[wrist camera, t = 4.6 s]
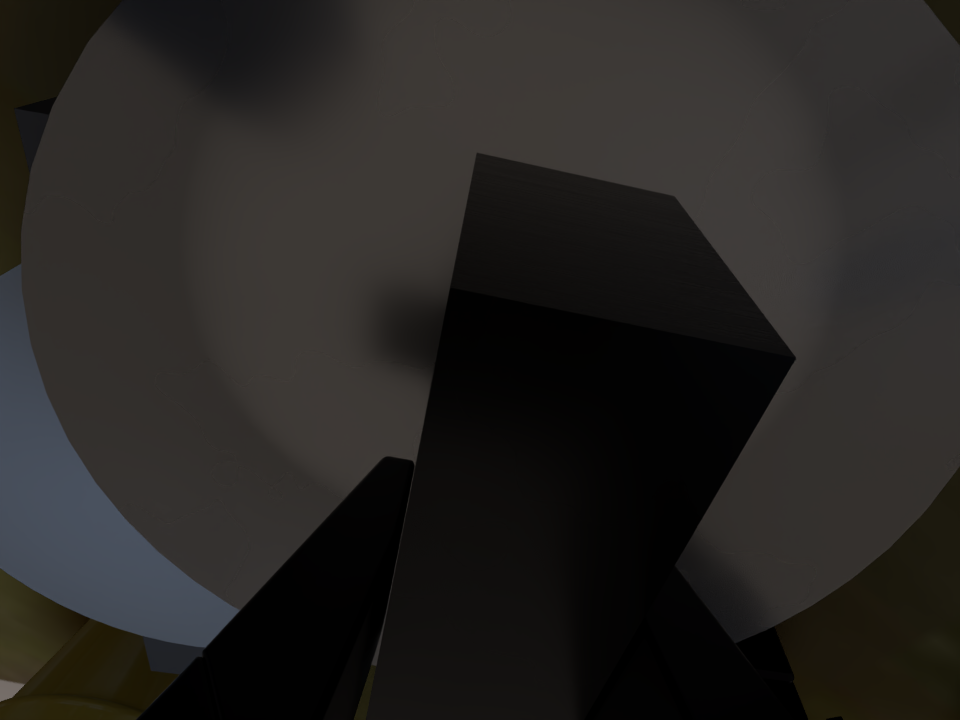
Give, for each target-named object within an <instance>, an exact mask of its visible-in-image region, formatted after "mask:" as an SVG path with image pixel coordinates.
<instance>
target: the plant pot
mask: <svg viewBox="0 0 960 720" xmlns="http://www.w3.org/2000/svg"><path fill="white" fill-rule="evenodd" d="M179 675H180V674H173V673H165V672H157V671H151V669H150V665H149V661H148V657H147V653H146V648H145V644H144V640H143V636H141V635H138V634H134V633H131V632H128V631H125V630H121V629H118V628H115V627H112V626H109V625H107V624H104V623H102V622H99V621H96V620H94V619H91V618H90V619H89V621H88V622H87V623H86V624H85V625H84V626H83V627H82V628H81V629H80V630H79V631H78V632H77V633H76V634H75V635H74V636H73V637H72V638H71V639H70V640H69V641H68V642H67V643H66V644H65V645H64V646H63V647H62V648H61V649H60V650H59V651H58V652H57V653H56V654H55V655H54V656H53V657H52V658H51V659H50V660H49V661H48V662H47V663H46V664H45V665H44V666H43V667H42V668H41V669H40V670H39V671H38V672H37V673H36V674H35V675H34V676H33V677H32V678H31V679H30V680H29V681H28V682H27V683H26V684H25V685H24V686H23V687H22V688H21V689H20V690H19V691H18V693H16V694H15V696H14V697H12V698H10V699H7V700H4V701H1V702H0V720H136V719H137V718H138V717H139V716H140V715H141V714H142V713H143V712H144V711H145V710H146V709H147V708H148V707H149V706H150V705H151V704H152V703H153V702H154V701H155V700H156V699H157V698H158V697H159V696H160V695H161V694H162V692H163V691H164V690H165V689H166V688H167V687H168V686H169V685H170V684H171V683H172V682H173V681H174V680H175V679H176V678H177V677H178V676H179Z"/></svg>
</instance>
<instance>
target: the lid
mask: <svg viewBox="0 0 960 720" xmlns="http://www.w3.org/2000/svg"><path fill="white" fill-rule="evenodd" d="M21 277H22V295H23V301H24V307H25V313H26V319H27V325H28V331H29V337H30V343H31V347H32V350H33V353H34V356H35V359H36V362H37V366H38V369H39V372H40V375H41V378H42V381H43V384H44V387H45V391H46V394H47V396H48V398H49V400H50V402H51V405H52V407H53V409H54V411H55V413H56V415H57V417H58V419H59V421H60V423H61V426H62V428H63V430H64V432H65V434H66V436H67V438H68V440H69V442H70V443H71V445H72V447H73V448H74V450H75V451H76V453H77V454H78V456H79V458H80V459H81V461H82V462H83V464H84V465H85V467H86V469H87V470H88V472H89V473H90V475H91V476H92V478H93V479H94V481H95V482H96V484H97V485H98V486H99V487H100V489H101V490H102V491H103V492H104V494H105V495H106V496H107V497H108V498H109V500H110V501H111V502H112V503H113V505H114V506H115V507H116V508H117V509H118V511H119V512H120V513H121V514H122V516H123V517H124V518H125V519H126V520H127V521H128V522H129V523H130V524H131V525H132V526H133V527H134V528H135V529H136V530H137V531H138V532H139V533H140V534H141V535H142V536H143V537H144V538H145V539H146V540H147V541H148V542H149V543H150V544H151V545H152V546H153V547H154V548H155V549H156V550H157V551H158V552H159V553H160V554H162V555H163V556H164V557H165V558H167V559H168V560H169V561H170V562H171V563H173V564H174V565H175V566H176V567H178V568H179V569H180V570H181V571H183V572H184V573H185V574H186V575H187V576H189V577H190V578H191V579H192V580H194V581H195V582H197V583H198V584H200V585H201V586H203V587H204V588H206V589H207V590H209V591H210V592H212V593H213V594H215V595H216V596H218V597H219V598H221V599H222V600H224V601H225V602H226V603H228V604H229V605H231V606H233V607H235V608H237V609H238V610H241V609H242V608H243V607H244V606H245V604H246V603H247V602H248V601H249V600H250V599H251V598H252V597H253V596H254V595H255V594H256V593H257V592H258V591H259V589H260V588H261V587H262V586H263V585H264V584H265V583H266V582H267V581H268V580H269V579H270V578H271V577H272V576H273V574H274V573H275V572H276V571H277V570H278V569H279V568H280V567H281V566H282V565H283V564H284V563H285V562H286V561H287V560H288V558H289V557H290V556H291V555H292V554H293V553H294V552H295V551H296V550H297V549H298V548H299V547H300V546H301V545H302V543H303V542H304V541H305V540H306V539H307V538H308V537H309V536H310V535H311V534H312V533H313V532H314V531H315V530H316V529H317V527H318V526H319V525H320V524H321V523H322V522H323V521H324V520H325V519H326V518H327V517H328V516H329V515H330V514H331V512H332V511H333V510H334V509H335V508H336V507H337V506H338V505H339V504H340V503H341V502H342V501H343V500H344V499H345V497H346V496H347V495H348V494H349V493H350V492H351V491H352V490H353V489H354V488H355V487H356V486H357V485H358V484H359V483H360V481H361V480H362V479H363V478H364V477H365V476H366V475H367V474H368V473H369V472H370V471H371V470H372V469H373V468H374V466H375V465H376V464H377V463H378V462H379V461H380V460H381V459H382V458H384V457H386V456H392V457H397V458H403V459H408V460H412V461H413V462H414V464H415V468H414V473H413V478H412V483H411V488H410V494H409V499H408V504H407V509H406V514H405V519H404V524H403V529H402V534H401V539H400V545H399V550H398V555H397V560H396V565H395V570H394V575H393V580H392V585H391V590H390V595H389V600H388V605H387V610H386V615H385V619H384V624H383V628H382V631H381V635H380V638H379V642H378V645H377V648H376V652H375V655H374V658H373V661H372V665H375V666H376V671H375V676H374V681H373V686H372V691H371V696H370V702H369V707H368V712H367V717H366V720H584V719H585V718H586V716H587V714H588V713H589V711H590V709H591V708H592V706H593V704H594V702H595V701H596V699H597V697H598V696H599V694H600V692H601V690H602V689H603V687H604V685H605V684H606V682H607V680H608V679H609V677H610V675H611V673H612V672H613V670H614V668H615V667H616V665H617V663H618V661H619V660H620V658H621V656H622V655H623V653H624V651H625V650H626V648H627V646H628V644H629V643H630V641H631V639H632V638H633V636H634V634H635V632H636V631H637V629H638V627H639V626H640V624H641V622H642V621H643V619H644V617H645V615H646V614H647V612H648V610H649V609H650V607H651V605H652V603H653V602H654V600H655V598H656V597H657V595H658V593H659V592H660V590H661V588H662V586H663V585H664V583H665V581H666V580H667V578H668V576H669V574H670V573H671V571H672V569H673V568H674V566H676V567H677V568H678V570H679V571H680V572H681V573H682V575H683V576H684V577H685V579H686V580H687V581H688V583H689V584H690V585H691V586H692V588H693V589H694V590H695V592H696V593H697V594H698V596H699V597H700V598H701V599H702V601H703V602H704V603H705V605H706V606H707V607H708V609H709V610H710V611H711V612H712V614H713V615H714V616H715V618H716V619H717V620H718V622H719V623H720V624H721V625H722V627H723V628H724V629H725V631H726V632H727V633H728V635H729V636H730V637H731V638H732V640H733V641H734V642H735V643H737V642H740V641H742V640H744V639H747V638H749V637H751V636H753V635H756V634H758V633H760V632H763V631H765V630H767V629H770V628H772V627H773V626H775V625H777V624H779V623H781V622H783V621H784V620H786V619H788V618H790V617H792V616H794V615H796V614H797V613H799V612H801V611H803V610H805V609H807V608H808V607H810V606H812V605H814V604H815V603H817V602H818V601H820V600H821V599H822V598H824V597H825V596H827V595H828V594H830V593H831V592H833V591H834V590H836V589H837V588H839V587H840V586H842V585H843V584H845V583H846V582H848V581H849V580H851V579H852V578H853V577H855V576H856V575H857V574H858V573H859V572H861V571H862V570H863V569H864V568H866V567H867V566H868V565H869V564H870V563H872V562H873V561H874V560H875V559H876V558H878V557H879V556H880V555H881V554H883V553H884V552H885V551H886V550H887V549H889V548H890V547H891V546H892V545H893V544H894V543H895V542H896V541H897V540H898V539H899V538H900V536H901V535H902V534H903V533H904V532H905V531H906V530H907V529H908V528H909V527H910V526H911V525H912V524H913V523H914V522H915V521H916V520H917V519H918V518H919V517H920V516H921V515H922V514H923V513H924V512H925V511H926V509H927V508H928V507H929V506H930V504H931V503H932V502H933V500H934V499H935V498H936V497H937V495H938V494H939V493H940V491H941V490H942V489H943V487H944V486H945V485H946V484H947V482H948V481H949V480H950V478H951V477H952V476H953V474H954V473H955V472H956V471H957V469H958V467H959V466H960V46H959V45H958V43H957V42H956V41H955V40H954V38H953V37H952V36H951V35H950V33H949V32H948V31H947V29H946V28H945V27H944V26H943V24H942V23H941V22H940V21H939V19H938V18H937V17H936V16H935V14H934V13H933V12H932V11H931V9H930V8H929V7H928V6H927V4H926V3H925V2H924V0H122V2H121V3H120V4H119V5H118V6H117V8H116V9H115V10H114V11H113V12H112V14H111V15H110V16H109V17H108V18H107V20H106V21H105V22H104V23H103V25H102V26H101V27H100V28H99V29H98V31H97V32H96V33H95V34H94V35H93V37H92V38H91V39H90V40H89V41H88V43H87V45H86V47H85V49H84V50H83V52H82V54H81V56H80V58H79V59H78V61H77V63H76V65H75V66H74V68H73V70H72V72H71V74H70V75H69V77H68V79H67V81H66V83H65V84H64V86H63V88H62V90H61V91H60V93H59V95H58V97H57V99H56V100H55V102H54V104H53V106H52V109H51V112H50V115H49V118H48V121H47V124H46V127H45V130H44V132H43V135H42V138H41V141H40V144H39V147H38V150H37V153H36V156H35V159H34V161H33V164H32V167H31V172H30V178H29V185H28V191H27V197H26V203H25V210H24V216H23V222H22V228H21Z"/></svg>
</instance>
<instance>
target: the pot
mask: <svg viewBox="0 0 960 720" xmlns="http://www.w3.org/2000/svg"><path fill="white" fill-rule="evenodd" d="M56 99H57V97H55V98H51V99H47V100H44V101H40V102H36V103H33V104H29V105H25V106H22V107H18V108H14V110H15V114H16V118H17V122H18V127H19V131H20V135H21V139H22V143H23V147H24V151H25V155H26V159H27V164H28V168H29V172H31V167H32V164H33V161H34V159H35V156H36V153H37V150H38V147H39V144H40V141H41V138H42V135H43V132H44V130H45V127H46V124H47V121H48V118H49V115H50V112H51V109H52V106H53V104H54V102H55V100H56ZM0 568H1V569H2V570H4V571H5V572H6V573H8V574H9V575H11V576H12V577H14V578H16V579H17V580H19V581H20V582H22V583H23V584H25V585H26V586H28V587H29V588H31V589H33V590H34V591H36V592H38V593H40V594H42V595H43V596H45V597H47V598H49V599H51V600H53V601H54V602H56V603H58V604H60V605H62V606H64V607H66V608H69V609H71V610H73V611H75V612H77V613H79V614H82V615H84V616H86V617H89V618H91V619H94V620H96V621H99V622H102V623H104V624H107V625H109V626H112V627H115V628H118V629H121V630H125V631H128V632H131V633H134V634H138V635H141V636H143V640H144V644H145V648H146V653H147V657H148V661H149V665H150V669H151V671H157V672H165V673H173V674H180V673H181V672H182V671H183V670H184V669H185V668H186V667H187V666H188V665H189V664H190V663H191V662H192V661H193V660H194V658H196V657H198V656H200V657H202V651H203V649H204V648H205V647H206V646H207V645H208V644H209V643H210V642H211V641H212V640H213V639H214V638H215V637H216V635H217V634H218V633H219V632H220V631H221V630H222V629H223V628H224V627H225V626H226V625H227V624H228V623H229V622H230V620H231V619H232V618H233V617H234V616H235V615H236V614H237V613H238V612H239V611H240V610H238V609H237V608H235V607H233V606H231V605H229V604H228V603H226V602H225V601H224V600H222V599H221V598H219V597H218V596H216V595H215V594H213V593H212V592H210V591H209V590H207V589H206V588H204V587H203V586H201V585H200V584H198V583H197V582H195V581H194V580H192V579H191V578H190V577H189V576H187V575H186V574H185V573H184V572H183V571H181V570H180V569H179V568H178V567H176V566H175V565H174V564H173V563H171V562H170V561H169V560H168V559H167V558H165V557H164V556H163V555H162V554H160V553H159V552H158V551H157V550H156V549H155V548H154V547H153V546H152V545H151V544H150V543H149V542H148V541H147V540H146V539H145V538H144V537H143V536H142V535H141V534H140V533H139V532H138V531H137V530H136V529H135V528H134V527H133V526H132V525H131V524H130V523H129V522H128V521H127V520H126V519H125V518H124V517H123V516H122V514H121V513H120V512H119V511H118V509H117V508H116V507H115V506H114V505H113V503H112V502H111V501H110V500H109V498H108V497H107V496H106V495H105V494H104V492H103V491H102V490H101V489H100V487H99V486H98V485H97V484H96V482H95V481H94V479H93V478H92V476H91V475H90V473H89V472H88V470H87V469H86V467H85V465H84V464H83V462H82V461H81V459H80V458H79V456H78V454H77V453H76V451H75V450H74V448H73V447H72V445H71V443H70V442H69V440H68V438H67V436H66V434H65V432H64V430H63V428H62V426H61V423H60V421H59V419H58V417H57V415H56V413H55V411H54V409H53V407H52V405H51V402H50V400H49V398H48V396H47V394H46V391H45V387H44V384H43V381H42V378H41V375H40V372H39V369H38V366H37V362H36V359H35V356H34V353H33V350H32V347H31V343H30V337H29V331H28V325H27V319H26V313H25V307H24V301H23V295H22V277H21V264H20V265H18V266H17V267H15V268H13V269H11V270H10V271H8V272H6V273H5V274H3V275H1V276H0Z"/></svg>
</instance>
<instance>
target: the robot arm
mask: <svg viewBox="0 0 960 720" xmlns="http://www.w3.org/2000/svg"><path fill="white" fill-rule="evenodd" d="M414 468H415V464H414V462H413V461H412V460H408V459H403V458H397V457H392V456H386V457H384V458H382V459H381V460H380V461H379V462H378V463H377V464H376V465H375V466H374V468H373V469H372V470H371V471H370V472H369V473H368V474H367V475H366V476H365V477H364V478H363V479H362V480H361V481H360V483H359V484H358V485H357V486H356V487H355V488H354V489H353V490H352V491H351V492H350V493H349V494H348V495H347V496H346V497H345V499H344V500H343V501H342V502H341V503H340V504H339V505H338V506H337V507H336V508H335V509H334V510H333V511H332V512H331V514H330V515H329V516H328V517H327V518H326V519H325V520H324V521H323V522H322V523H321V524H320V525H319V526H318V527H317V529H316V530H315V531H314V532H313V533H312V534H311V535H310V536H309V537H308V538H307V539H306V540H305V541H304V542H303V543H302V545H301V546H300V547H299V548H298V549H297V550H296V551H295V552H294V553H293V554H292V555H291V556H290V557H289V558H288V560H287V561H286V562H285V563H284V564H283V565H282V566H281V567H280V568H279V569H278V570H277V571H276V572H275V573H274V574H273V576H272V577H271V578H270V579H269V580H268V581H267V582H266V583H265V584H264V585H263V586H262V587H261V588H260V589H259V591H258V592H257V593H256V594H255V595H254V596H253V597H252V598H251V599H250V600H249V601H248V602H247V603H246V604H245V606H244V607H243V608H242V609H241V610H240V611H239V612H238V613H237V614H236V615H235V616H234V617H233V618H232V619H231V620H230V622H229V623H228V624H227V625H226V626H225V627H224V628H223V629H222V630H221V631H220V632H219V633H218V634H217V635H216V637H215V638H214V639H213V640H212V641H211V642H210V643H209V644H208V645H207V646H206V647H205V648H204V649H203V651H202V657H200V656H198V657H196V658H194V660H193V661H192V662H191V663H190V664H189V665H188V666H187V667H186V668H185V669H184V670H183V671H182V672H181V673H180V675H179V676H178V677H177V678H176V679H175V680H174V681H173V682H172V683H171V684H170V685H169V686H168V687H167V688H166V689H165V690H164V691H163V692H162V694H161V695H160V696H159V697H158V698H157V699H156V700H155V701H154V702H153V703H152V704H151V705H150V706H149V707H148V708H147V709H146V710H145V711H144V712H143V713H142V714H141V715H140V716H139V717H138V718H137V719H136V720H354V716H355V713H356V710H357V707H358V704H359V701H360V698H361V695H362V692H363V689H364V686H365V682H366V679H367V676H368V673H369V670H370V667H371V664H372V661H373V658H374V655H375V652H376V648H377V645H378V642H379V638H380V635H381V631H382V628H383V624H384V619H385V615H386V610H387V605H388V600H389V595H390V590H391V585H392V580H393V575H394V570H395V565H396V560H397V555H398V550H399V545H400V539H401V534H402V529H403V524H404V519H405V514H406V509H407V504H408V499H409V494H410V488H411V483H412V478H413V473H414ZM793 680H794V674H793V672H792V669H791V667H790V664H789V662H788V659H787V657H786V654H785V652H784V650H783V647H782V645H781V642H780V640H779V637H778V635H777V632H776V630H775V627H774V626H773V627H772V628H770V629H767V630H765V631H763V632H760V633H758V634H756V635H753V636H751V637H749V638H747V639H744V640H742V641H740V642H737V643H735V642H734V641H733V640H732V638H731V637H730V636H729V635H728V633H727V632H726V631H725V629H724V628H723V627H722V625H721V624H720V623H719V622H718V620H717V619H716V618H715V616H714V615H713V614H712V612H711V611H710V610H709V609H708V607H707V606H706V605H705V603H704V602H703V601H702V599H701V598H700V597H699V596H698V594H697V593H696V592H695V590H694V589H693V588H692V586H691V585H690V584H689V583H688V581H687V580H686V579H685V577H684V576H683V575H682V573H681V572H680V571H679V570H678V568H677V567H676V566H674V568H673V569H672V571H671V573H670V574H669V576H668V578H667V580H666V581H665V583H664V585H663V586H662V588H661V590H660V592H659V593H658V595H657V597H656V598H655V600H654V602H653V603H652V605H651V607H650V609H649V610H648V612H647V614H646V615H645V617H644V619H643V621H642V622H641V624H640V626H639V627H638V629H637V631H636V632H635V634H634V636H633V638H632V639H631V641H630V643H629V644H628V646H627V648H626V650H625V651H624V653H623V655H622V656H621V658H620V660H619V661H618V663H617V665H616V667H615V668H614V670H613V672H612V673H611V675H610V677H609V679H608V680H607V682H606V684H605V685H604V687H603V689H602V690H601V692H600V694H599V696H598V697H597V699H596V701H595V702H594V704H593V706H592V708H591V709H590V711H589V713H588V714H587V716H586V718H585V719H584V720H808V718H807V715H806V713H805V710H804V708H803V705H802V703H801V700H800V698H799V695H798V693H797V690H796V688H795V685H794V683H793ZM826 720H843V719H842V717H841V716H840V717H834V718H828V719H826Z"/></svg>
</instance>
